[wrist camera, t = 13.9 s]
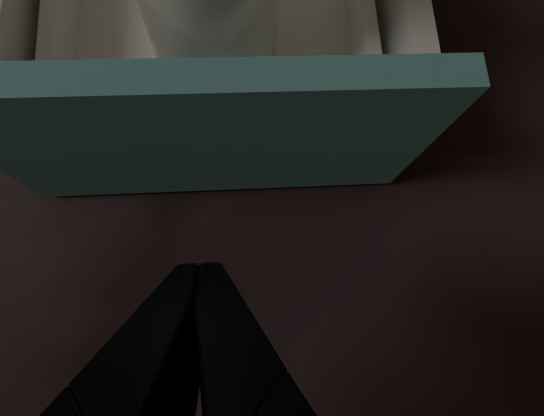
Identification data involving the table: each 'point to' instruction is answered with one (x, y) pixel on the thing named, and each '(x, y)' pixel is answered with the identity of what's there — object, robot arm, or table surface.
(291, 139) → the white and teal drawer
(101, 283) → the table surface
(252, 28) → the salt jar
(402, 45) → the dock housing
